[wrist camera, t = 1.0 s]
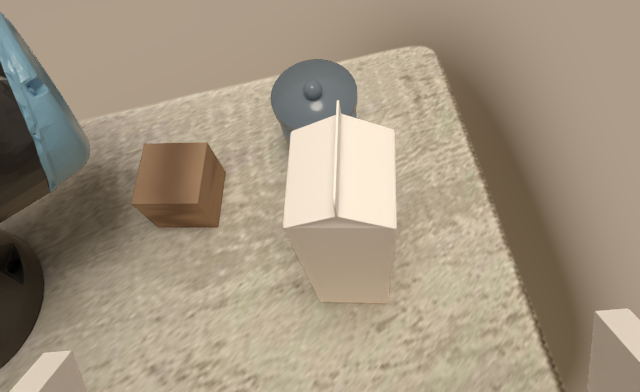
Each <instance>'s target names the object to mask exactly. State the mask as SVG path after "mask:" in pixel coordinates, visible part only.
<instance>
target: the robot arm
mask: <svg viewBox="0 0 640 392" xmlns="http://www.w3.org/2000/svg"><path fill="white" fill-rule="evenodd" d="M89 155H90V145H89V142H88V139H87V137H86V135H85V133H84V132H83V130H82V128H81V126H80V125H79V123H78V121H77V119H76V118H75V116H74V115H73V113H72V111H71V110H70V108H69V106H68V105H67V103H66V102H65V100H64V99H63V97H62V96H61V94H60V92H59V91H58V89H57V88H56V86H55V85H54V83H53V82H52V80H51V79H50V77H49V76H48V74H47V73H46V71H45V70H44V68H43V67H42V65H41V64H40V62H39V61H38V60H37V58H36V57H35V55H34V54H33V52H32V51H31V49H30V48H29V46H28V45H27V44H26V42H25V41H24V39H23V38H22V37H21V35H20V34H19V33H18V31H17V30H16V29H15V28H14V26H13V25H12V23H11V22H10V21H9V20H8V19H7V18H5V16H4V15H3V14H2V13H1V12H0V223H1V222H3V221H4V220H6V219H7V218H9V217H11V216H12V215H14V214H16V213H17V212H19V211H20V210H22V209H24V208H25V207H27V206H29V205H30V204H32V203H34V202H35V201H37V200H38V199H40V198H42V197H43V196H45V195H47V194H48V193H51V192H53V191H55V190H56V188H57V186H58V185H59V184H61V183H62V182H63V181H65V180H66V179H68V178H69V177H70V176H72V175H73V174H74V173H76V172H77V171H78V170H80V169H81V168H82V167H83V166H84V165H85V164H86V162H87V160H88V158H89ZM42 296H43V274H42V269H41V266H40V263H39V260H38V258H37V256H36V254H35V253H34V251H33V250H32V249H31V248H30V247H29V245H27V244H26V243H25V242H24V241H23V240H21V239H19V238H18V237H16V236H14V235H12V234H9V233H7V232H5V231H3V230H1V229H0V368H1V367H2V366H3V365H4V364H5V363H6V362H7V361H8V360H9V359H10V358H11V357H12V356H13V355H14V354H15V353H16V352H17V350H18V349H19V348H20V347H21V345H22V344H23V342H24V341H25V339H26V338H27V336H28V335H29V333H30V331H31V329H32V327H33V325H34V323H35V321H36V318H37V316H38V313H39V310H40V306H41V302H42ZM9 392H87V391H86V388H85V385H84V383H83V380H82V377H81V374H80V372H79V369H78V366H77V363H76V360H75V358H74V355H73V352H72V350H71V351H58V352H45V353H43V354H42V355H41V357H40V358H39V359H38V360H37V361H36V362H35V363H34V364H33V366H32V367H31V368H30V369H29V370H28V371H27V372H26V373H25V375H24V376H23V377H22V378H21V379H20V380H19V381H18V382H17V384H16V385H15V386H14V387H13V388H12V389H11V390H10V391H9ZM587 392H640V320H639V319H638V318H637V317H636V316H635V315H634V314H633V313H632V312H631V311H630V310H629V309H616V310H603V311H595V315H594V325H593V337H592V347H591V357H590V368H589V378H588V388H587Z"/></svg>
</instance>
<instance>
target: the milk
mask: <svg viewBox="0 0 640 392" xmlns="http://www.w3.org/2000/svg"><path fill="white" fill-rule="evenodd" d="M283 229H284V231H285V233H286V235H287V237H288V239H289V241H290V243H291V245H292V247H293V249H294V251H295V253H296V255H297V257H298V259H299V261H300V263H301V265H302V266H303V268H304V270H305V272H306V274H307V276H308V278H309V280H310V282H311V284H312V286H313V288H314V290H315V292H316V294H317V296H318V298H319V300H320V302H342V303H382V304H387V303H388V299H389V290H390V282H391V273H392V264H393V256H394V247H395V239H396V230H397V213H396V164H395V131H394V130H393V129H390V128H387V127H384V126H381V125H377V124H374V123H371V122H367V121H364V120H361V119H357V118H354V117H351V116H347V115H344V114H341V110H340V102H339V100H337V105H336V115H334V116H331V117H329V118H326V119H323V120H320V121H318V122H315V123H312V124H310V125H307V126H304V127H302V128H299V129H296V130H294V131H292V132H291V134H290V146H289V158H288V170H287V182H286V194H285V206H284V218H283Z"/></svg>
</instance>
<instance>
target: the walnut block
mask: <svg viewBox="0 0 640 392" xmlns="http://www.w3.org/2000/svg"><path fill="white" fill-rule="evenodd" d="M225 174H226V172H225V170H224V169H223V167H222V165H221V164H220V162H219V161H218V159H217V158H216V156H215V154H214V153H213V151H212V150H211V148H210V146H209V145H208V143H163V144H144V147H143V151H142V156H141V160H140V165H139V170H138V174H137V179H136V183H135V188H134V193H133V197H132V202H131V204H132V205H133V206H134V207H135V208H137V209H138V210H139V211H140V212H141V213H142V214H144V215H145V216H146V217H147V218H148V219H150V220H151V221H152V222H153V223H154V224H156V225H157V226H158V227H218V226H219V218H220V211H221V204H222V196H223V189H224V181H225Z"/></svg>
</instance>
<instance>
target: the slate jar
mask: <svg viewBox="0 0 640 392" xmlns="http://www.w3.org/2000/svg"><path fill="white" fill-rule="evenodd" d="M337 100H339V102H340V110H341V114H344V115H347V116H351V117H354V118H356V105H357V87H356V83H355V80H354V78H353V77H352V75H351V74H350V73H349V71H348V70H346V69H345V68H344V67H343V66H341V65H339V64H337V63H335V62H332V61H328V60H322V59H314V60H307V61H303V62H300V63H297V64H295V65H293V66H291V67H289V68H288V69H287V70H285V71H284V72H283V73H282V74H281V75H280V76H279V77H278V79H277V80H276V82H275V84H274V86H273V88H272V92H271V105H272V108H273V111H274V114H275V116H276V118H277V120H278V121H279V122H280V124H281V127H282V130H283V133H284V136H285V139H286V142H287V145H288V148H289V146H290V134H291V132H292V131H294V130H296V129H299V128H302V127H304V126H307V125H310V124H312V123H315V122H318V121H320V120H323V119H326V118H329V117H331V116H334V115H336V105H337Z"/></svg>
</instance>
